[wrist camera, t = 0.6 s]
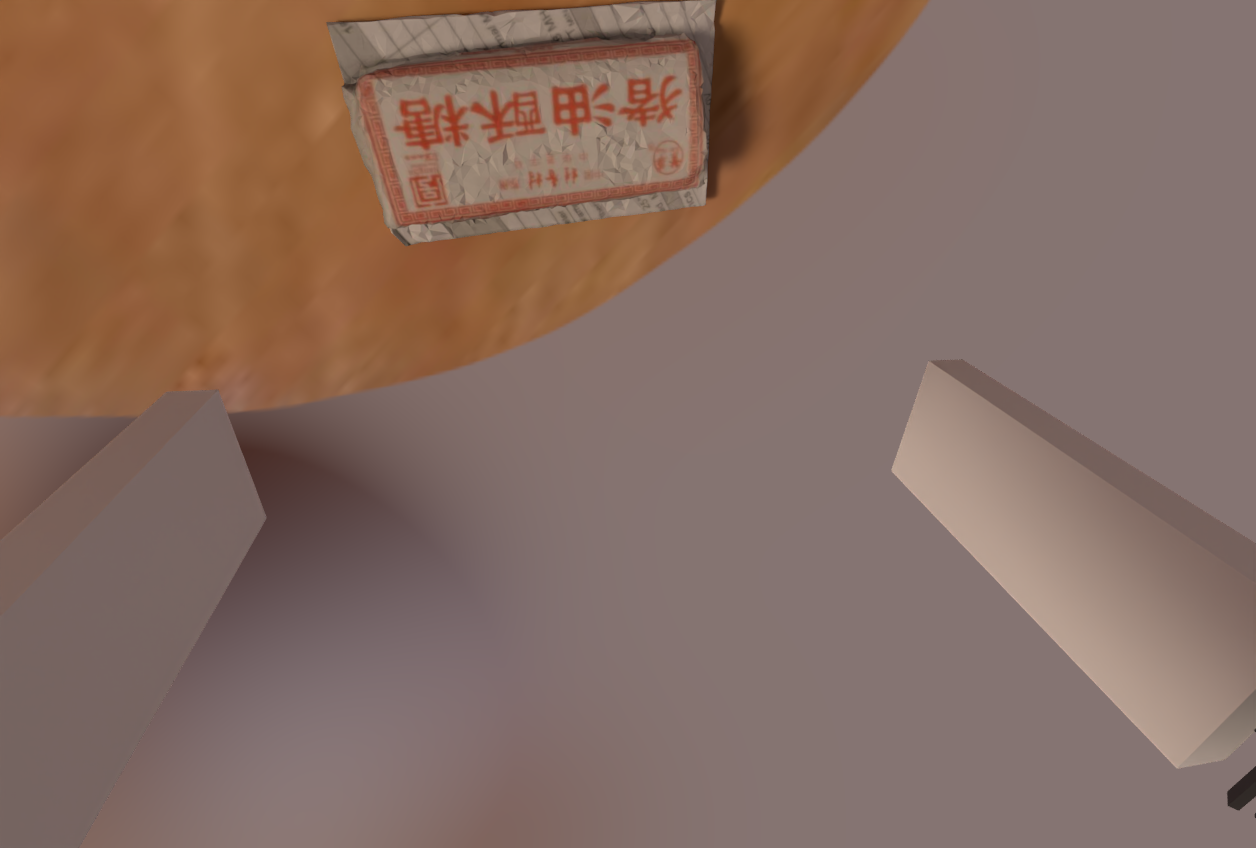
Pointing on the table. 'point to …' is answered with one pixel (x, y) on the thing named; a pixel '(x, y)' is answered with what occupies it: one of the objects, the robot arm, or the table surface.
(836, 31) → the table surface
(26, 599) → the robot arm
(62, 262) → the table surface
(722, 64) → the table surface
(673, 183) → the packaged product
